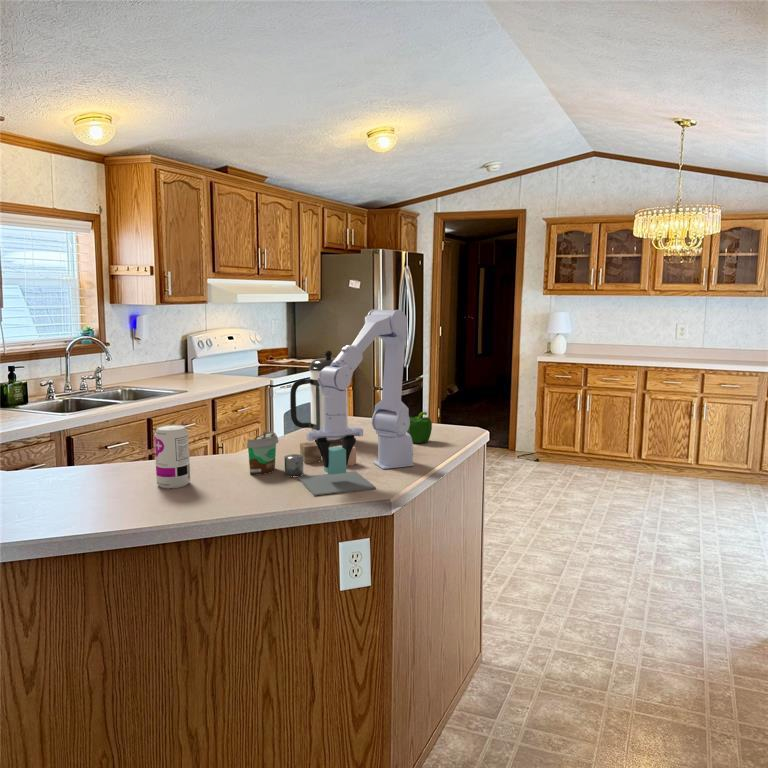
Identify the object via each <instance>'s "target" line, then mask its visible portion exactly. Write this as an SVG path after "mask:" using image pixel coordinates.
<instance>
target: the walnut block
mask: <svg viewBox="0 0 768 768" xmlns="http://www.w3.org/2000/svg"><path fill="white" fill-rule="evenodd" d="M299 453H300V454H299V455H302V456H303V462H304V463H308V462H318V463H320V462H319V461H321V462H322V456H321V453H320V450H319V448H318V446H317V444H316V442H315V441H309V442H300V444H299ZM304 463H303V464H304ZM308 464H309V463H308Z"/></svg>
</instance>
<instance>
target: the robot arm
mask: <svg viewBox="0 0 768 768" xmlns="http://www.w3.org/2000/svg"><path fill="white" fill-rule="evenodd" d="M407 329H408V317H407V315H406V314H405V313H404V311H403V310H402V309H395V310H394V309H393V310H392V309H375V308H374V309H373V308H372V309H371V310H370V311H369V312H368V314H367V315H366V316H365V317H364V325H363V327H362V328H361V330H360V331H359V332H358V335H357V336H356V337H355V340H353V342H352V344H351V345H350V344H347V345H345V346H343V347H342V348H341V351H340V352H339V353H338V354H337V356H336V357H334V358H335V360H334V361H333V362H332V363H331V365H330V366H327V367H325V368H323V369H322V370H321V372H320V374H319V378H318V383H319V385H320V386H321V393H322V395H323V401H324V430H318V431H312V432H311V431H307V432H306V441H308V442H316V444H317V446H318V448H319V450H320V453H321V461H322V463H323V464H322V465H323V468H324V467H326V468H327V467H328V466H329V459H328V451H329V447H330V442H328V440H326V439H330V438H341V440H340V441H341V445H342V448H344V449H345V450H346V465H348V460H349V456H350V453H351V450H352V448H353V447H355V444H356V442H357V438H356V437H363V436H364V429H363V427H348V428H346V389H347V390H348V388H349V387H350V385H351V383H352V377H353V375H354V372H355V370H356V369H357V368H358V367H359V365H360V364H361V363H362V361H363V360H364V359H363V358H364V357H363V356H364V355H363V353H364V352H365V351H366V349H367V348H368V347H370V345H371V343H373V342H374V341H375V339H376V338H377V337H378V338H380V339H381V340H382V341H383V343H384V344H385V350H384V351H385V352H384V366H383V367H384V369H383V382H382V394H381V395H382V396H381V397H382V399H381V400H380V401H378V402H377V403H376V404H375V405H374V412H373V414H372V417H371V427H372V428H373V430H374V431H375V434H376V435H377V444H378V445H377V455H378V456H377V458H378V459H377V460H373V462H372V463H374V464H375V465H376V466H378V467H380V468H381V469H382V470H386V469H387V470H389V469H395V468H406V467H413V466H415V465H414V462H413V460H414V458H413V455H414V454H413V453H414V451H413V450H414V449H413V448H414V447H413V446H414V443H413V442H412V438H411V435H410V434H409V433H407V431H408V429H409V426H410V419H409V418H410V415H409V412H410V411H409V410H410V408H409V407H408V406H407V404H405V403H404V402H403V401H402V394H403V392H402V391H403V377H404V360H405V349H406V347H405V346H406V340H407V333H408V332H407Z"/></svg>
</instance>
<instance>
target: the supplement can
mask: <svg viewBox="0 0 768 768" xmlns="http://www.w3.org/2000/svg"><path fill="white" fill-rule="evenodd" d="M153 437H154V439H153V440H154V450H155V451H154V454H155V455H154V456H155V471H156V472H155V473H156V484H157V486H159V487H160V488H162V489H170V488H172V489H180V488H182V487H185V486H188V484H189V483H190V482H191V463H190V447H189V446H190V443H189V432H188V429H187V428H186V426H185V425H182V424H167V425H160V426H158V427H156V430H155V432H154V436H153Z"/></svg>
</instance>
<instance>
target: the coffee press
mask: <svg viewBox="0 0 768 768" xmlns="http://www.w3.org/2000/svg"><path fill="white" fill-rule="evenodd" d="M332 354H333V352H332V351H331V350H329V349H328V350H326V351H325V352H324V355H325V357H321V358H320V357H319V358H316V359H313V360H312V361H311V362H310V364H309V366H308V370H309V378H300V379H297V380H296V381H295V382H294V383H293V384H292V386H291V388H290V395H289V398H290V400H289V401H290V403H289V404H290V418H291V421H292V423H293V424H294V426H296V427H297V428H303V429H310V432H312V431H318V430H324V401H323V395H322V393H321V386H320V385H319V383H318V378H319V374H320V372H321V370H322V369H323V368H325V367H327V366H330V365H331V363H332V362H333V361H334V360H335V358H336V357H331V356H332ZM301 385H309V388H310V421H308V422H301V421H300V420H298V418H297V397H296V395H297V391H298V388H299V387H300V386H301ZM348 401H349V400H348V388H347V389H346V428H349V426H348V423H349V418H348V414H349V412H348V410H349V409H348V408H349V407H348ZM326 440H327V441H337V440H340V441H341V438H330V439H326Z"/></svg>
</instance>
